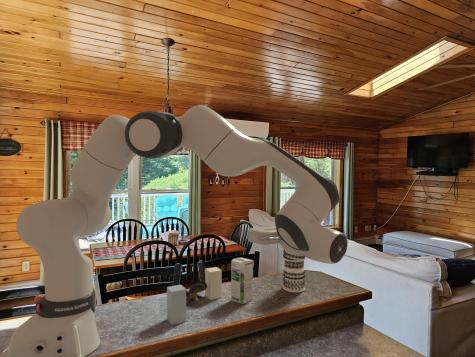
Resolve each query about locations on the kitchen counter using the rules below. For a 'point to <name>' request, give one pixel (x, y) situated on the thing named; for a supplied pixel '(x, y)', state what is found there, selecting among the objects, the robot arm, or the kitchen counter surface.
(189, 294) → the brown animal figure
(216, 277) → the cream block
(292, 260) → the decorative candle
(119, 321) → the kitchen counter surface
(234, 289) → the syrup box
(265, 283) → the kitchen counter surface
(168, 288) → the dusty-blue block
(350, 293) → the kitchen counter surface
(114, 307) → the kitchen counter surface
